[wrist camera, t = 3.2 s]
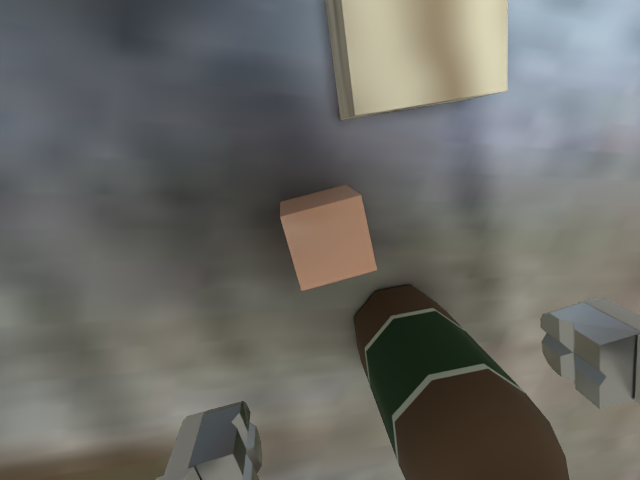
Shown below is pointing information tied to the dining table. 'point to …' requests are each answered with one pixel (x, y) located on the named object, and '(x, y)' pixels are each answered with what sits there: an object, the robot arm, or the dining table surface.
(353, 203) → the terracotta cube
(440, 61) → the birch block
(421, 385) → the beer bottle
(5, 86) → the dining table surface
